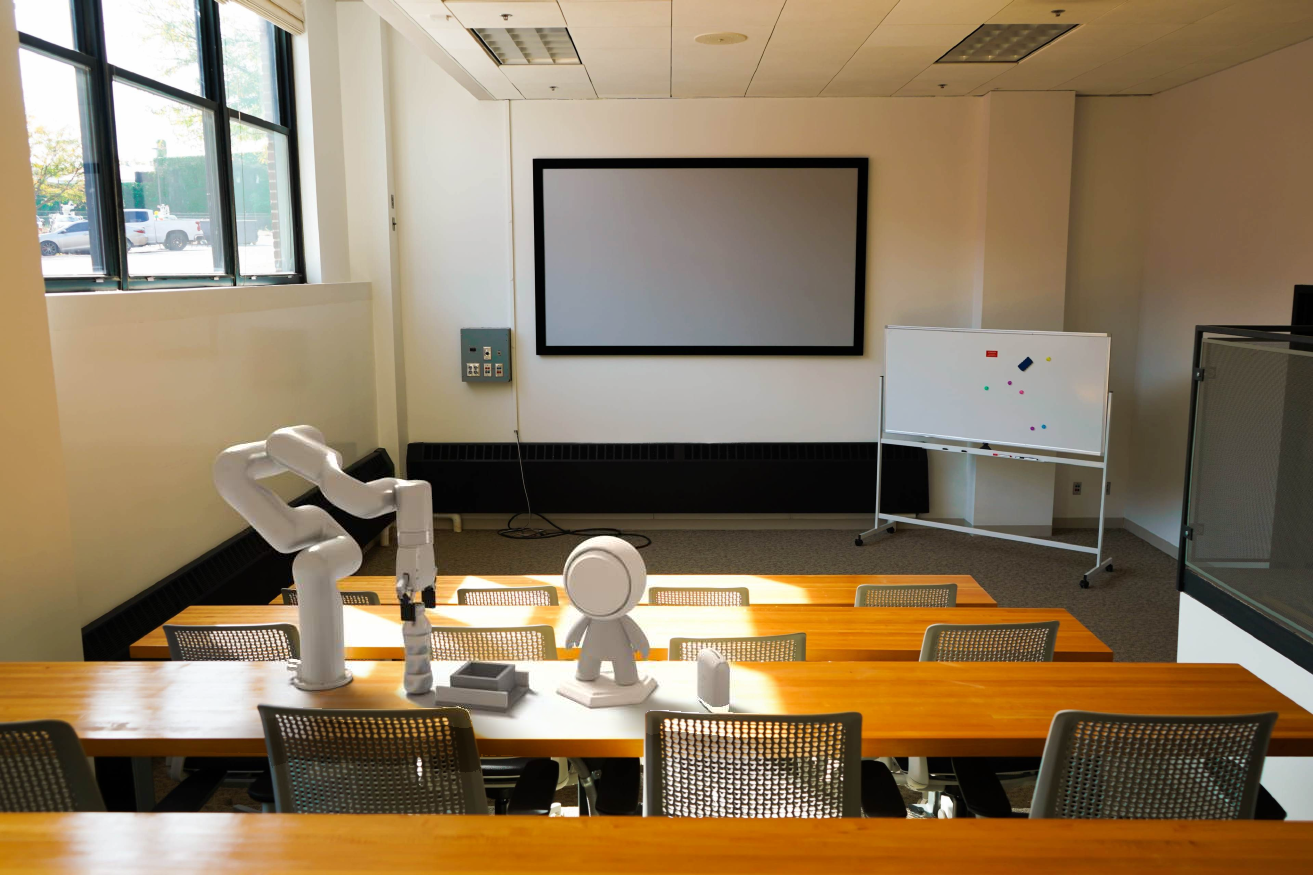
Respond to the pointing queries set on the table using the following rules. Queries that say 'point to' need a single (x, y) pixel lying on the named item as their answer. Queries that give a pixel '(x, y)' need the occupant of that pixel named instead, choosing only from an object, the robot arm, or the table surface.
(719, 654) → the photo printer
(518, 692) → the gray open square box
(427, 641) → the plastic bottle
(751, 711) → the table surface
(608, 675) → the white cartoon figure
